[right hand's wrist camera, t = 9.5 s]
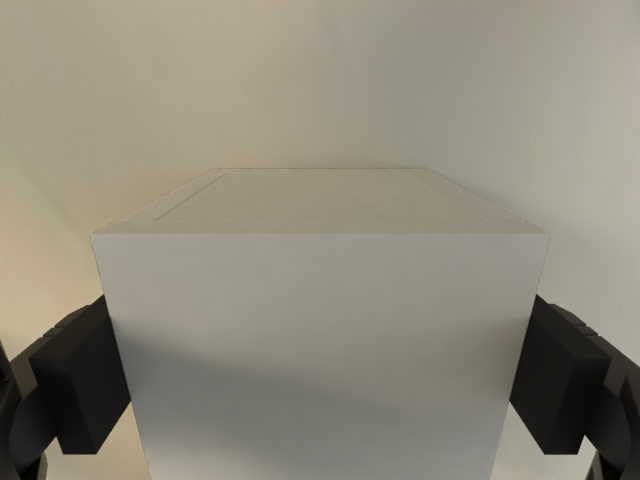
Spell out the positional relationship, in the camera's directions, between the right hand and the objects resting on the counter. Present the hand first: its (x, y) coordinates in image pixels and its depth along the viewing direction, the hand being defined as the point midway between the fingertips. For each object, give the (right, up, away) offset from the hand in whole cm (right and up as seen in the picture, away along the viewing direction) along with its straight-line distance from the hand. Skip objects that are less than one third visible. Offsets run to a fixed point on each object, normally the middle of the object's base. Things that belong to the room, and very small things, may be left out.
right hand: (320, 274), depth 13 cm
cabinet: (0, -5, +7) cm, 9 cm away
